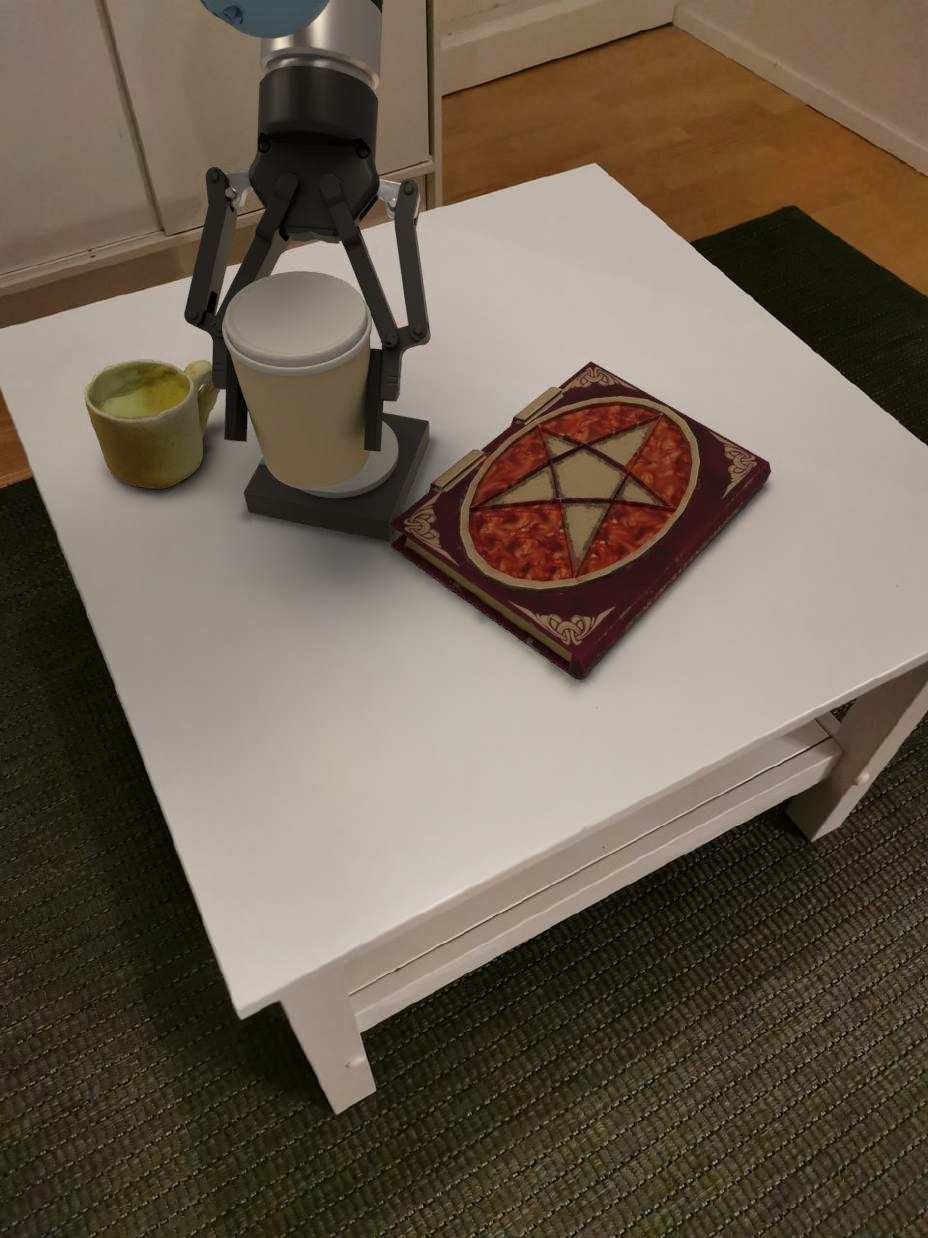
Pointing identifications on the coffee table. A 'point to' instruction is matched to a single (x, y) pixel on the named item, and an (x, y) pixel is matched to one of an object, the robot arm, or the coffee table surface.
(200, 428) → the mug
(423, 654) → the coffee table surface
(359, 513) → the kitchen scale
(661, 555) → the book
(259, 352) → the coffee cup
